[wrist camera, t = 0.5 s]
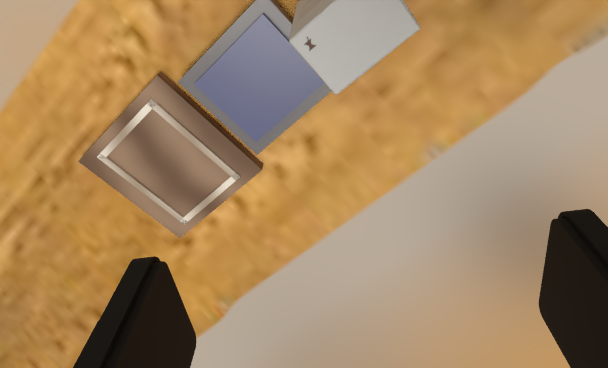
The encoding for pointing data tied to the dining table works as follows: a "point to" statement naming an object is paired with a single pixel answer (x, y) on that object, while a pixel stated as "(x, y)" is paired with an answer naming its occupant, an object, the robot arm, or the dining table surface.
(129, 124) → the marked board
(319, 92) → the ink pad
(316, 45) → the skincare box
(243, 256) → the dining table surface
